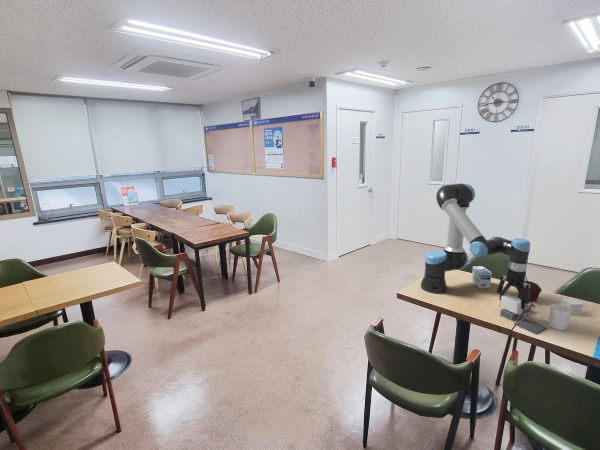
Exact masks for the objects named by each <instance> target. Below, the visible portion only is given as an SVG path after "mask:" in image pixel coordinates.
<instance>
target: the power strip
mask: <svg viewBox="0 0 600 450" xmlns="http://www.w3.org/2000/svg"><path fill="white" fill-rule="evenodd" d="M534 306H535V304H534V303H530V304H529V303H528V304H525V309H523V310H522V314H520V315H518V313H517V314H515V313H513V312H508V310H506V309H503V308H501V309H500V313H499V316H501V317H503V318H505V319H507V320H510V321H514V320H516V319H518V318H520V317H522V316H524V314H525V315H526V313H527V314H529V313H531V312H532V310H533V307H534ZM528 312H529V313H528Z"/></svg>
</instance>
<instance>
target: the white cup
mask: <svg viewBox="0 0 600 450" xmlns="http://www.w3.org/2000/svg"><path fill="white" fill-rule="evenodd" d="M571 311H572V310H571V309H570V308H569V307H566V306H564V305H561V304H560V303H559V304H558V303H552V304H550V307H549V317H548V325H549V326H550V327H551V328H552V329H554V330H559V331H565V330H567V327H568V324H569V321H570V318H571Z"/></svg>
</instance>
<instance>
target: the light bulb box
mask: <svg viewBox="0 0 600 450" xmlns="http://www.w3.org/2000/svg"><path fill="white" fill-rule="evenodd" d="M492 274H493V272H492V271H490V270H489V269H487V268H486V267H484V266H482V265H481V266H478V265H477V266H475V265H474V266H472V274H471V282H470V283H473V284H474V285H475V287H478V288H479V289H491V283H492V276H493V275H492Z"/></svg>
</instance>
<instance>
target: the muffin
mask: <svg viewBox="0 0 600 450" xmlns="http://www.w3.org/2000/svg"><path fill="white" fill-rule="evenodd" d="M525 283H527V284H531V287H530V300H531V302H530V303H535V302H537V301H538V299H539V295H540V293H541V292H542V291H543V290H542V288H541V287H540V286H539V284H537V283H536V282H533V281H531V280H530V281H529V280H525ZM522 286H523V292H524V295H525V287H524V285H522ZM519 288H520V287H519ZM517 295H518V296H517V297H518V299H520V297H519V293H518V292H517ZM534 301H535V302H534Z"/></svg>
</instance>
